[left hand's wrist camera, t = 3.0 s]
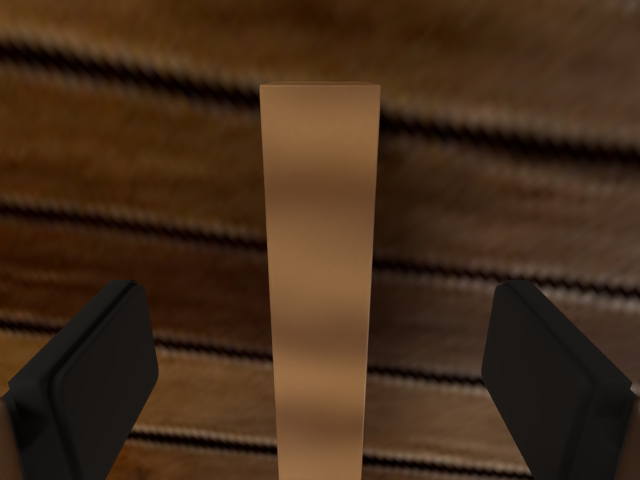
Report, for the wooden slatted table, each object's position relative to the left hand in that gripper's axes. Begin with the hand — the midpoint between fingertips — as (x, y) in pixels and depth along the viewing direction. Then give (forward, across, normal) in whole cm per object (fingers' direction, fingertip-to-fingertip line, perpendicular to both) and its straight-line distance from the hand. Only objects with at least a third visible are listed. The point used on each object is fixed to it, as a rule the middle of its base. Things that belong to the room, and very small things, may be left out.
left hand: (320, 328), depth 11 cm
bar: (+14, 0, -19) cm, 24 cm away
